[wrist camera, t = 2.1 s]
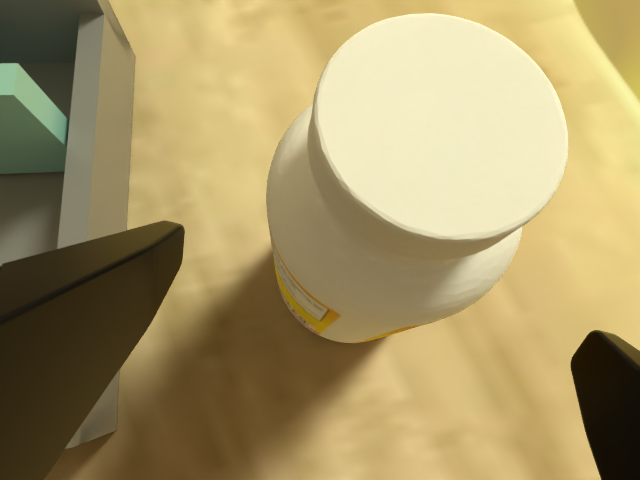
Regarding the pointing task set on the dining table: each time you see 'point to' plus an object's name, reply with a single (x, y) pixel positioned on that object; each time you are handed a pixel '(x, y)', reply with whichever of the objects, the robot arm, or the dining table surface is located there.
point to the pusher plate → (29, 126)
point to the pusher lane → (72, 141)
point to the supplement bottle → (411, 176)
